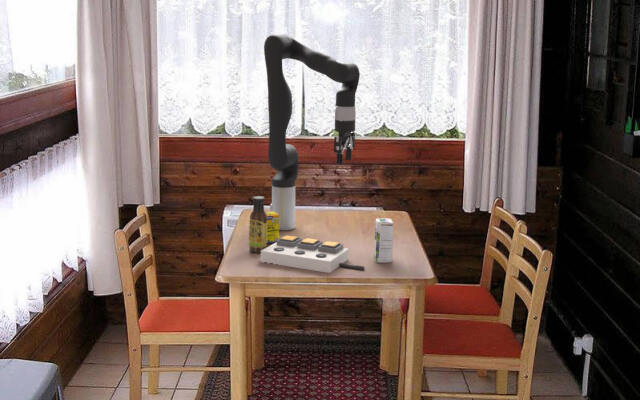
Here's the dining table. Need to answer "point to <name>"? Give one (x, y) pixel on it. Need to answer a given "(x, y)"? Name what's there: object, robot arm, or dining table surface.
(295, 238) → the switch
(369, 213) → the dining table surface
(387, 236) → the syrup box
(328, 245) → the switch
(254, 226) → the sauce bottle
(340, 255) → the switch panel
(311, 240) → the switch
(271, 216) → the supplement box
